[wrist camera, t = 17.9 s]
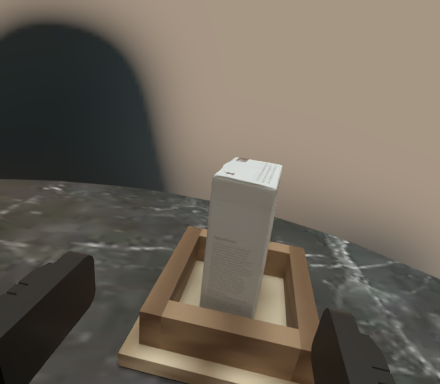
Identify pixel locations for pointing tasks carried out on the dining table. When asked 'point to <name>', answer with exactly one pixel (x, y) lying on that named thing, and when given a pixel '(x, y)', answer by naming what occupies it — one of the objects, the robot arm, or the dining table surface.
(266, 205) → the skincare box
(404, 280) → the dining table surface
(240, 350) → the socket board
